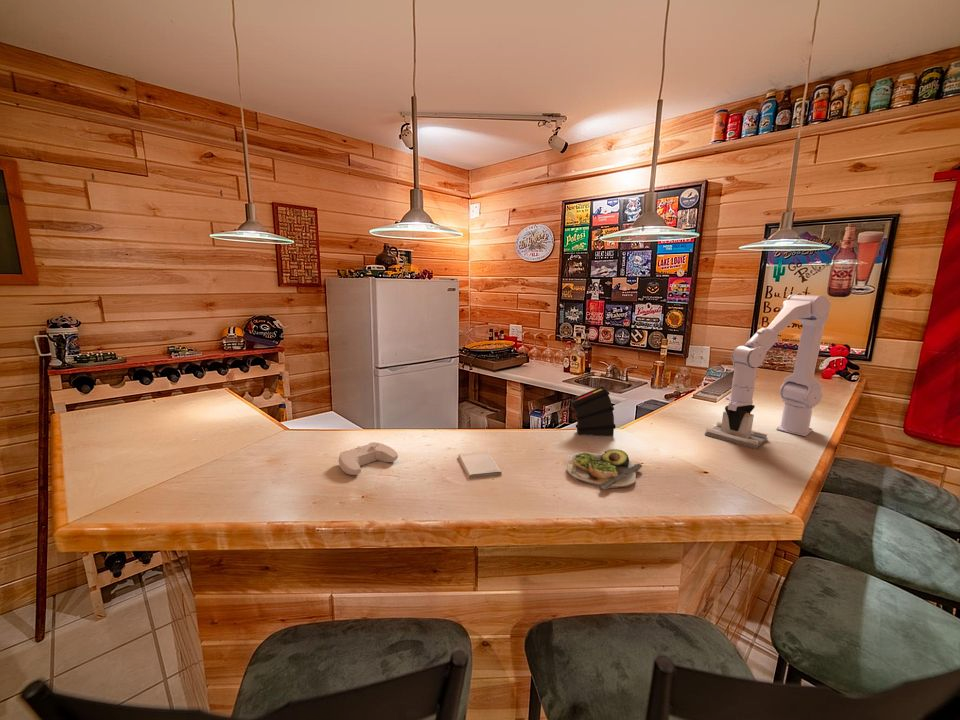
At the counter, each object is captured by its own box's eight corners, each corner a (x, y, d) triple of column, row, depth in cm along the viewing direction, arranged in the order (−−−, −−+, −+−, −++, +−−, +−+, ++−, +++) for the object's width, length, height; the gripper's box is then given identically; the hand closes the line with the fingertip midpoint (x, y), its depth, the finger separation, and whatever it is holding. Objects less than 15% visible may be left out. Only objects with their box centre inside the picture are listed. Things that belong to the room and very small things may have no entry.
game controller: (351, 469, 98) (331, 448, 105) (350, 485, 100) (330, 463, 106) (402, 451, 109) (381, 433, 115) (400, 466, 110) (379, 447, 116)
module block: (725, 429, 135) (728, 408, 133) (750, 436, 130) (754, 413, 128) (720, 433, 132) (723, 410, 131) (745, 439, 127) (748, 416, 125)
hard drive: (501, 471, 103) (487, 450, 115) (469, 474, 101) (458, 453, 113) (501, 477, 103) (487, 456, 115) (469, 481, 101) (458, 459, 113)
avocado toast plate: (639, 502, 92) (641, 483, 92) (558, 486, 99) (559, 468, 98) (642, 467, 110) (643, 450, 109) (573, 455, 117) (574, 439, 116)
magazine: (625, 431, 129) (607, 388, 127) (584, 448, 131) (566, 405, 128) (621, 427, 133) (604, 385, 130) (582, 443, 134) (564, 401, 132)
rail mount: (718, 427, 140) (719, 421, 139) (767, 439, 129) (768, 433, 129) (704, 434, 133) (705, 428, 132) (755, 448, 122) (756, 442, 122)
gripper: (737, 379, 135) (731, 420, 138) (719, 386, 126) (713, 429, 129) (762, 384, 130) (755, 425, 133) (746, 391, 121) (739, 436, 123)
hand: (736, 428), depth 130 cm, fingers closed on module block, 4 cm apart
